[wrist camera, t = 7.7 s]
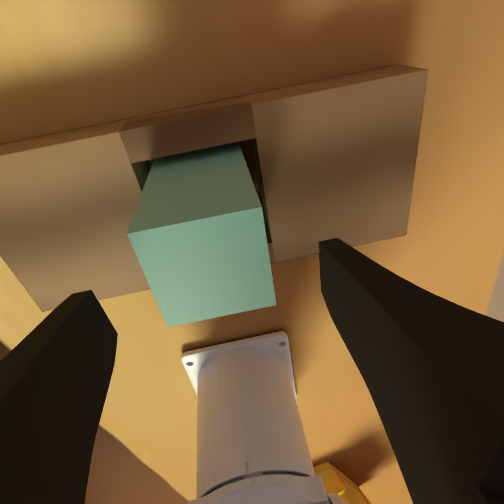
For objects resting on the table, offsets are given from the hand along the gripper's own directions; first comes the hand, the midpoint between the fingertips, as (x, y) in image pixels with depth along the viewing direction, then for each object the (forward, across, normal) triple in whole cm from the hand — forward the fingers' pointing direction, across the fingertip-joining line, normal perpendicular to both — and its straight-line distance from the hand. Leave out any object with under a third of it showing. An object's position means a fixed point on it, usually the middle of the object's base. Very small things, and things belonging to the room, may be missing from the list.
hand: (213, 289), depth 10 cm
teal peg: (+8, 0, 0) cm, 8 cm away
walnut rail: (+8, 0, 0) cm, 8 cm away
